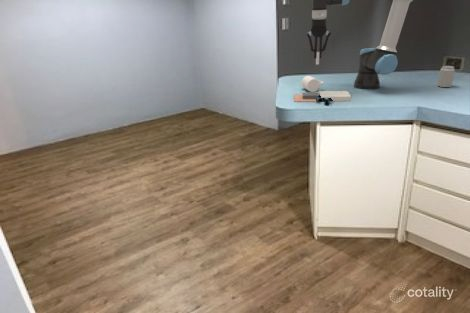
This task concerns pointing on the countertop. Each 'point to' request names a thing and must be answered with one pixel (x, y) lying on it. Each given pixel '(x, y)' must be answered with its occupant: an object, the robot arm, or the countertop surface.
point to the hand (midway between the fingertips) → (317, 64)
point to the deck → (336, 95)
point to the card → (310, 95)
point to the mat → (300, 99)
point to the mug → (311, 83)
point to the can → (446, 76)
